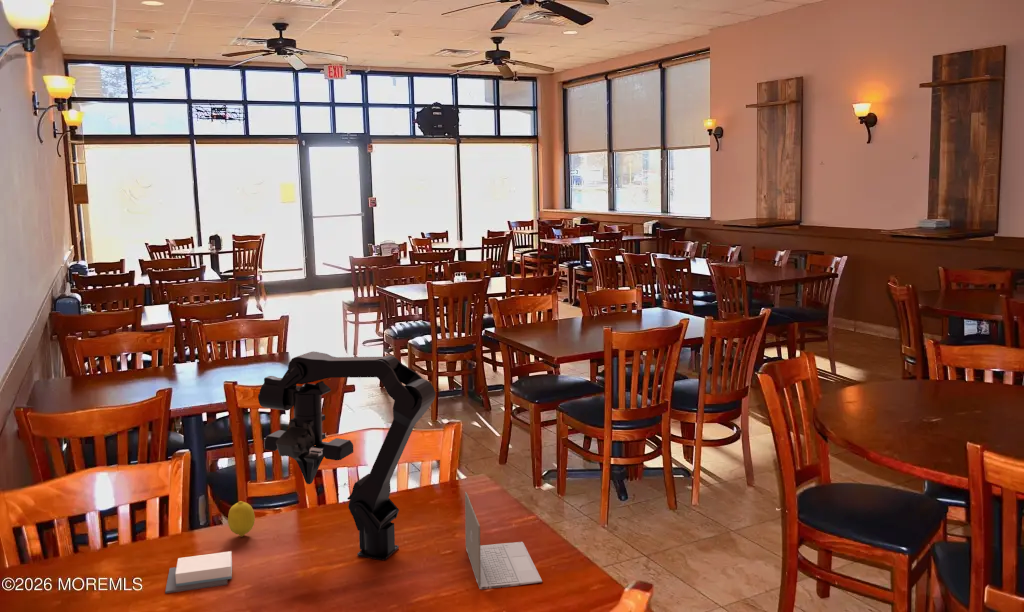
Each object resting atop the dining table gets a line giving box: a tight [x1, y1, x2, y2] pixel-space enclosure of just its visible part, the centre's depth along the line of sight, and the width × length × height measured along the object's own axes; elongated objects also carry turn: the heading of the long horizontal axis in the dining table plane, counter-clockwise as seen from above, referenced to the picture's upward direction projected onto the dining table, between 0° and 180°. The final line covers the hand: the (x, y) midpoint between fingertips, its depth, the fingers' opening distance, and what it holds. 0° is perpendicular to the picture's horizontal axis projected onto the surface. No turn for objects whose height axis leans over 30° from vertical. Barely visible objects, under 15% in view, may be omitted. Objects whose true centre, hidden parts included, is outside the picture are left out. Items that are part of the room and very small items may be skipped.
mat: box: [164, 566, 228, 594], centre depth 161 cm, size 11×10×1 cm
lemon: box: [227, 500, 256, 537], centre depth 179 cm, size 6×6×8 cm
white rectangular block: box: [175, 550, 233, 586], centre depth 161 cm, size 2×7×10 cm
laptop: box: [464, 491, 543, 590], centre depth 165 cm, size 18×12×13 cm
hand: (309, 483), depth 175 cm, fingers closed
